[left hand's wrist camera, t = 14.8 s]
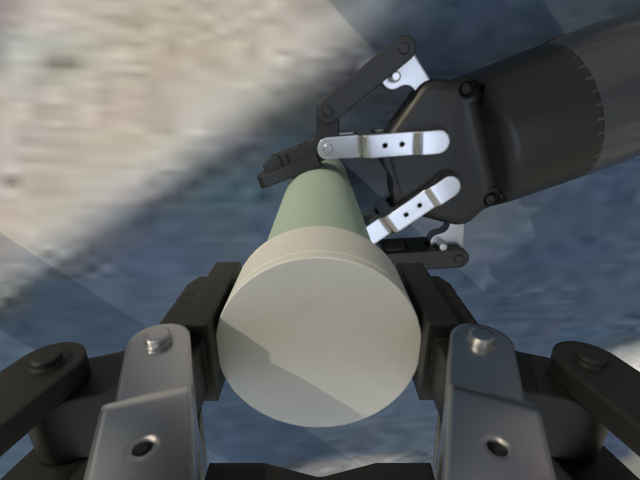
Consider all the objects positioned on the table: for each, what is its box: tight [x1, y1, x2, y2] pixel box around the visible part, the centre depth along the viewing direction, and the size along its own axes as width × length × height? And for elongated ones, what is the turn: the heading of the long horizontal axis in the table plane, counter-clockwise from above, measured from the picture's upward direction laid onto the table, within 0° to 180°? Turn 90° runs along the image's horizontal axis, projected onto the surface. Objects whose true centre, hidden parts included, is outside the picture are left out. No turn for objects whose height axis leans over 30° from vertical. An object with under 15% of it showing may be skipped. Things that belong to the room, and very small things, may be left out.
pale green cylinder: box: [267, 159, 371, 241], centre depth 19 cm, size 4×4×20 cm
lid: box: [216, 226, 421, 427], centre depth 10 cm, size 5×5×2 cm
